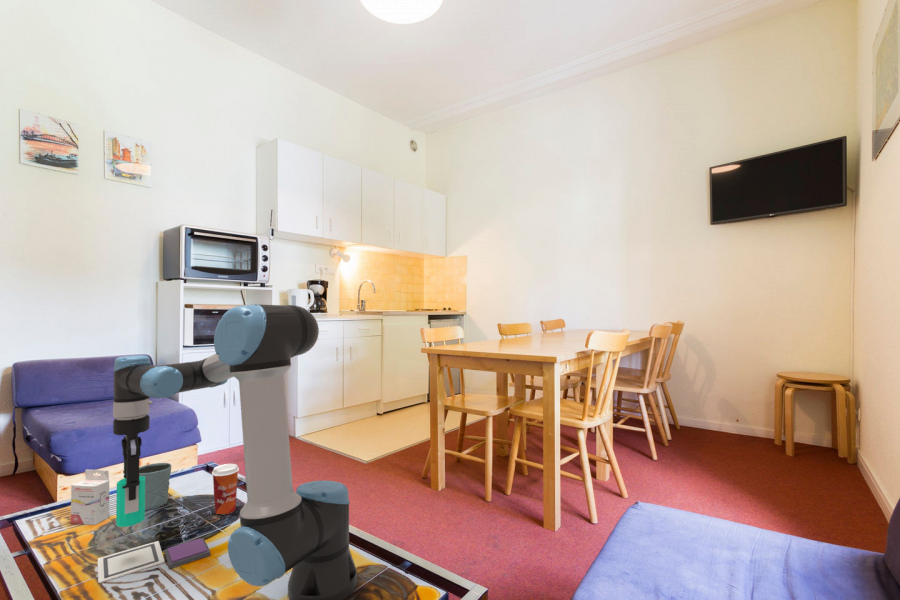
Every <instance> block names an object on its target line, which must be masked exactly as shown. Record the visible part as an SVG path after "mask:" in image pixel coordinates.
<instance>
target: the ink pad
mask: <svg viewBox="0 0 900 600" xmlns="http://www.w3.org/2000/svg"><path fill="white" fill-rule="evenodd" d="M164 553H165V554H164V558H165V559H166V562H167V563H166V564H167V566H168V569H170V570H171V569H174V568H176V567H180V566H182V565H186V564H189V563H192V562H194V561H198V560H200V559H204V558H206V557H210V556H211V550H210V547H209V546H208V544H207V542H206V540H205V538H204V537H201V538H197V539H193V540H190V541H186V542H184V543H180V544H178V545H177V544H176V545H174V546H171V547H167V548H166V549H164Z"/></svg>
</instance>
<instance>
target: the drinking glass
mask: <svg viewBox="0 0 900 600" xmlns="http://www.w3.org/2000/svg"><path fill="white" fill-rule="evenodd" d="M171 473H172V464H171V463H169V462H157V463H151V464H150V463H149V464H146V465H142V466H139V476H145V511H150V509H151V510H155V509H158V508H160V506H161V507H163V506H164V504H165V505H166V504H167V503H168V500H169V490H170V479H171ZM162 505H163V506H162ZM157 507H158V508H157ZM154 508H155V509H154Z"/></svg>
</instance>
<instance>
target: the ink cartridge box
mask: <svg viewBox="0 0 900 600" xmlns="http://www.w3.org/2000/svg"><path fill="white" fill-rule="evenodd" d="M96 473H97V474H98V475H97V474H96ZM99 474H100V475H99ZM109 475H110V474H109V471H108V470H104V469H85V471H84V476H85V479H82V480H80V481H78V482H75V483H72V484H71V486H70V489H71V490H70V492H71V493H70V524H74V525H91V526H97V525H98V524H99V523H101V522H103V521H105V520H107V519H109V518H110V476H109Z"/></svg>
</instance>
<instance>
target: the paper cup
mask: <svg viewBox="0 0 900 600" xmlns="http://www.w3.org/2000/svg"><path fill="white" fill-rule="evenodd" d="M239 471H240V468H239V466H238V465H237V464H236V463H225V464H220V465H217V466H215V467H214V468H213V470H212V472H211V475H212V478H213V479H212V480H213V481H212V483H213V496H214V497H213V499H214V500H213V501H214V510H215V511H214V512H215V515H216V514H221V515H222V514H229V513H231V512H233V511H234V510H235V511H236V509H237V508H236V507H237V506H236V505H237V495H238V494H237V493H238V492H237V491H238V490H237V489H238V474H239ZM235 511H234V512H235ZM234 512H233V513H234ZM231 514H232V513H231ZM229 515H230V514H229Z"/></svg>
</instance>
